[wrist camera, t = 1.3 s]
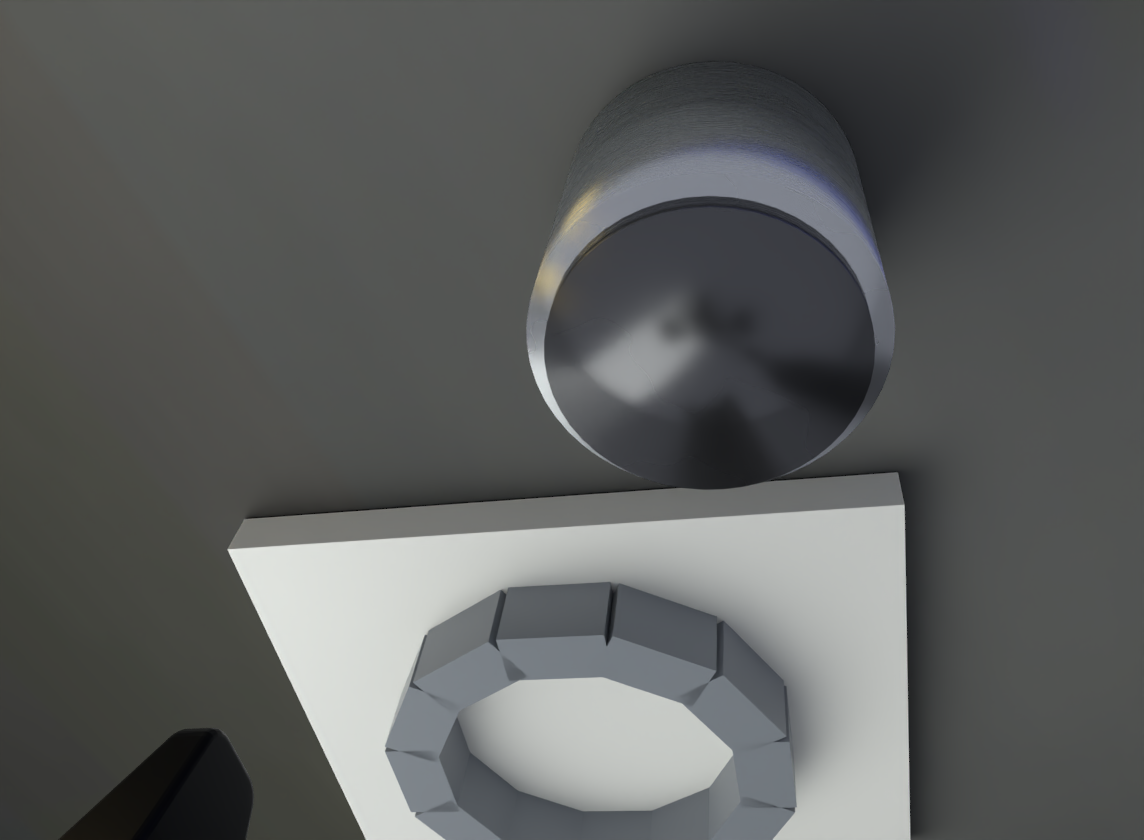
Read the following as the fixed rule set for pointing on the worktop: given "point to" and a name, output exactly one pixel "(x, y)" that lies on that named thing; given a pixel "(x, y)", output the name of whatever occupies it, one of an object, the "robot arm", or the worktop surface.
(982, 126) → the worktop surface
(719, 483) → the metal cylinder
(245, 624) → the worktop surface
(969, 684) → the worktop surface
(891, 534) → the barrel plate
